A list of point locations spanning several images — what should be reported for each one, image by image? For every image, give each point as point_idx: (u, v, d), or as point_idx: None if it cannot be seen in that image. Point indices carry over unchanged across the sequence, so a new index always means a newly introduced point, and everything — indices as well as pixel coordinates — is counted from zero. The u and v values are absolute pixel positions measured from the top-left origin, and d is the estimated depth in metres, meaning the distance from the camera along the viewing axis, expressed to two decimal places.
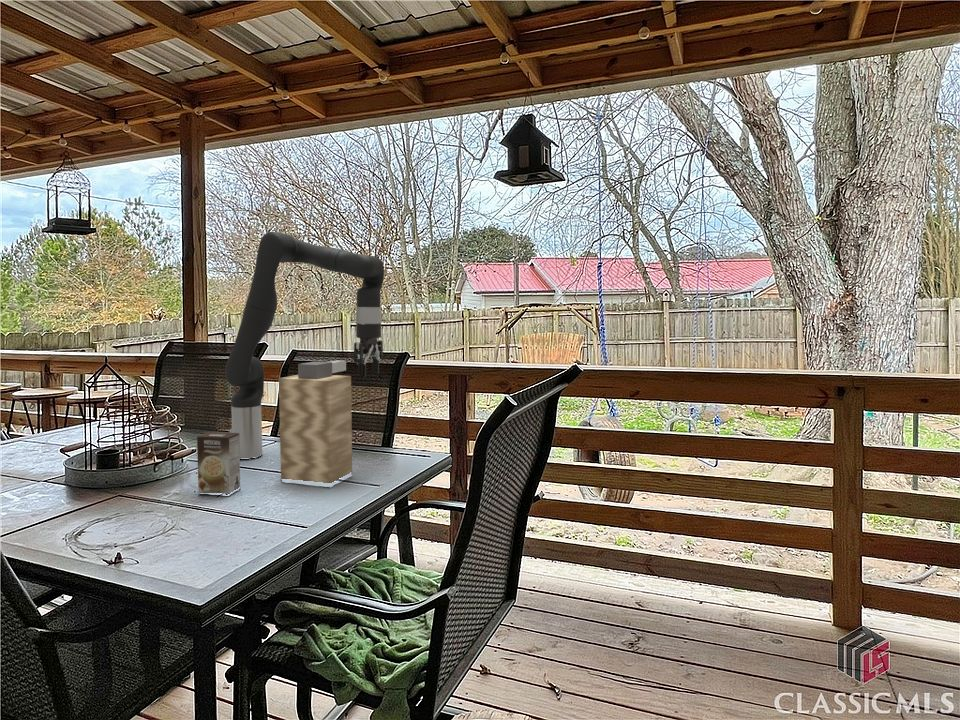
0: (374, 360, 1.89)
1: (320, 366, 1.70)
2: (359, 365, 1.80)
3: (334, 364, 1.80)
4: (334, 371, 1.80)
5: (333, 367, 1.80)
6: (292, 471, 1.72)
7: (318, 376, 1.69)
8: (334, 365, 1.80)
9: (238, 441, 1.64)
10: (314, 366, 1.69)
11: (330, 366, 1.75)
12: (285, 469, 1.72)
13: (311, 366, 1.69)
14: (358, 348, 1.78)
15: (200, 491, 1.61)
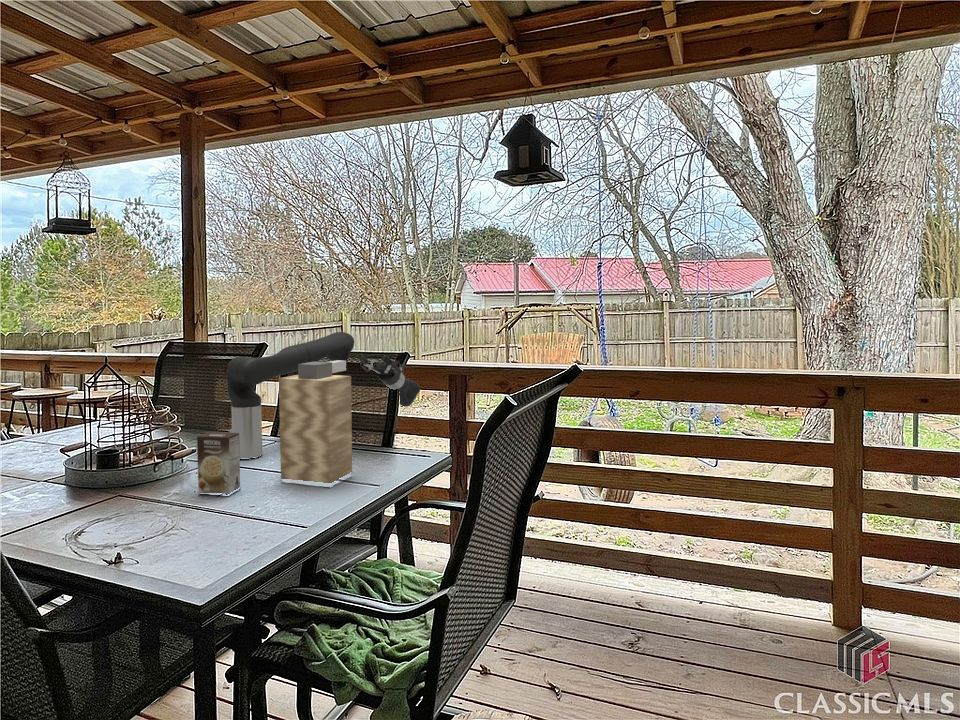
0: (367, 361, 2.11)
1: (320, 366, 1.70)
2: (391, 361, 2.08)
3: (334, 364, 1.80)
4: (334, 371, 1.80)
5: (333, 367, 1.80)
6: (292, 471, 1.72)
7: (318, 376, 1.69)
8: (334, 365, 1.80)
9: (238, 441, 1.64)
10: (314, 366, 1.69)
11: (330, 366, 1.75)
12: (285, 469, 1.72)
13: (311, 366, 1.69)
14: (400, 369, 2.12)
15: (200, 491, 1.61)
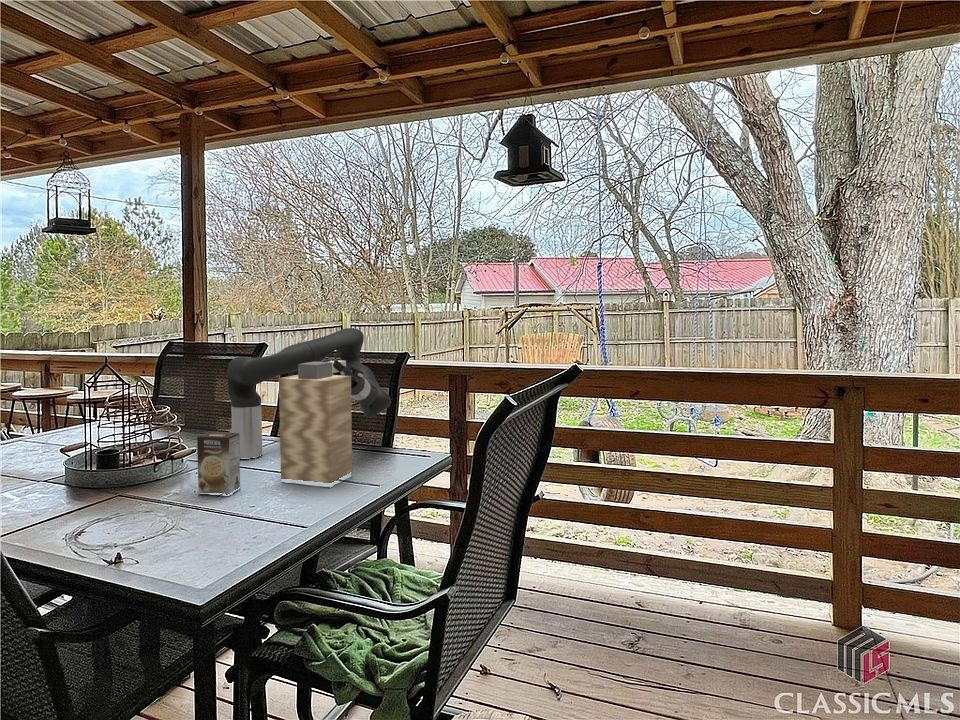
0: None
1: (320, 366, 1.70)
2: (343, 366, 1.83)
3: None
4: (334, 371, 1.80)
5: (333, 367, 1.80)
6: (292, 471, 1.72)
7: (318, 376, 1.69)
8: None
9: (238, 441, 1.64)
10: (314, 366, 1.69)
11: (330, 366, 1.75)
12: (285, 469, 1.72)
13: (311, 366, 1.69)
14: (359, 375, 1.85)
15: (200, 491, 1.61)
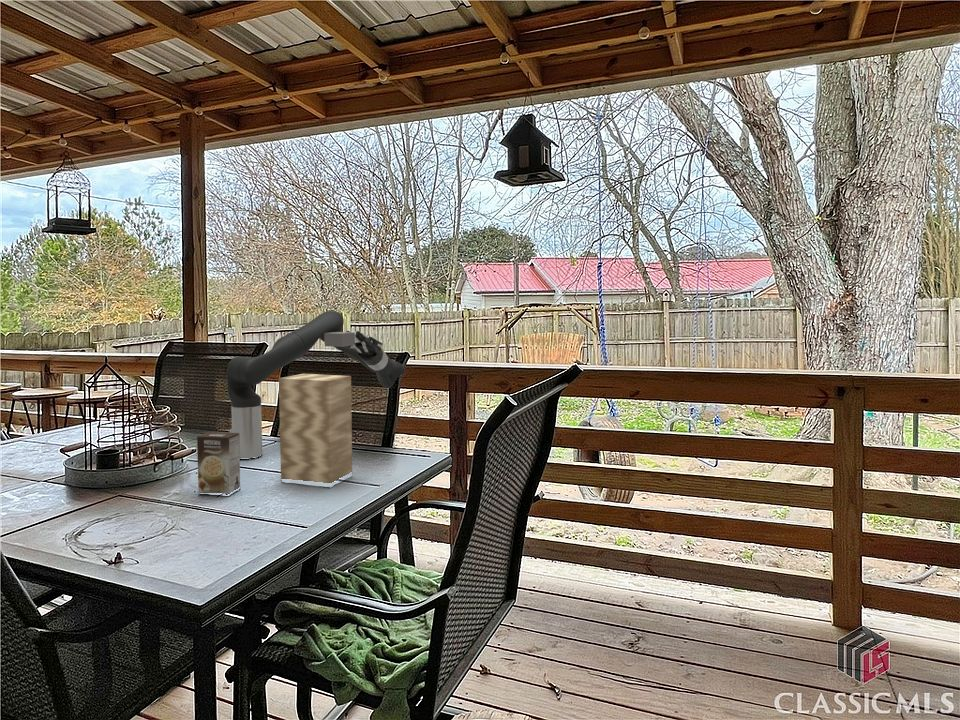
0: None
1: (344, 335, 1.86)
2: (364, 337, 1.99)
3: None
4: (356, 341, 1.96)
5: (355, 337, 1.96)
6: (292, 471, 1.72)
7: (342, 344, 1.85)
8: None
9: (238, 441, 1.64)
10: (339, 335, 1.85)
11: (353, 336, 1.91)
12: (285, 469, 1.72)
13: (336, 335, 1.85)
14: (378, 345, 2.01)
15: (200, 491, 1.61)
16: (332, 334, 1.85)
